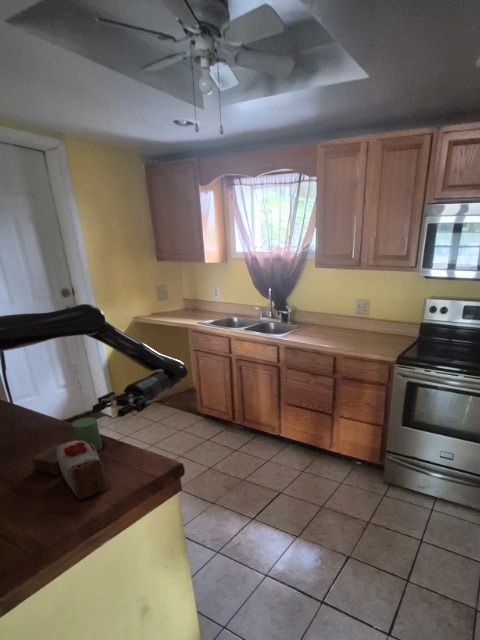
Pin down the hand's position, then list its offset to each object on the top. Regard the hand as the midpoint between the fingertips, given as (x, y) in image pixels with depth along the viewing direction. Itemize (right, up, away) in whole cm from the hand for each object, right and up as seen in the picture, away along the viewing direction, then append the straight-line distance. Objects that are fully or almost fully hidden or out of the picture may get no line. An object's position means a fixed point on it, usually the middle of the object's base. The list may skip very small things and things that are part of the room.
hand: (106, 411), depth 103 cm
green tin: (-2, -10, -4) cm, 11 cm away
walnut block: (-6, -13, -11) cm, 18 cm away
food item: (+4, -16, -17) cm, 24 cm away
